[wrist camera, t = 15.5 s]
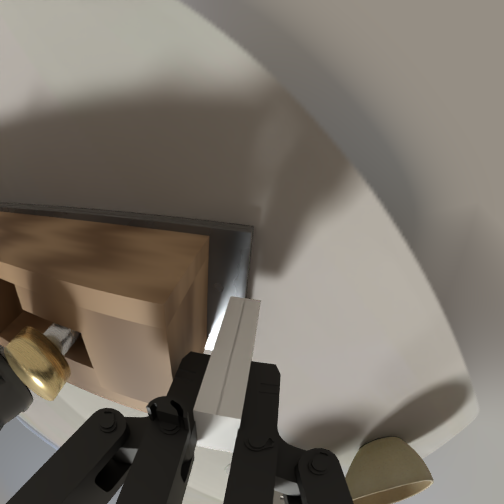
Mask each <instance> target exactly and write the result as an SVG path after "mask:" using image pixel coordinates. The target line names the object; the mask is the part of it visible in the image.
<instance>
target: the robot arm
mask: <svg viewBox="0 0 504 504" xmlns="http://www.w3.org/2000/svg"><path fill="white" fill-rule="evenodd" d="M260 302H261V300H254V299H247V298H240V297H234V296H230V299H229V302H228V305H227V308H226V311H225V314H224V317H223V320H222V323H221V326H220V329H219V332H218V335H217V338H216V341H215V344H214V348H213V351H212V354H211V355H207V354H202V353H197V352H192V351H190V352H189V353H188V354H187V355H186V356H185V357H184V358H182V360H181V363H180V365H179V367H178V370H177V372H176V374H175V378H174V379H173V381H172V384H171V386H170V388H169V391H168V393H167V396H162V397H157V398H155V399H153V400H151V401H150V402H149V403H148V405H147V406H146V409H147V412H148V415H149V416H148V417H124V416H123V415H122V414H121V413H120V412H119V411H117V410H115V409H112V408H104V409H100V410H98V411H96V412H95V413H94V414H93V415H92V416H91V417H90V418H89V419H88V420H87V421H86V422H85V423H84V424H83V425H82V426H81V427H80V428H79V429H78V430H77V431H76V432H75V433H74V434H73V435H72V436H71V437H70V438H69V439H68V440H67V441H66V442H65V443H64V444H63V445H62V446H61V447H60V448H59V449H58V450H57V452H56V453H55V454H54V455H53V456H52V457H51V458H50V459H49V460H48V461H47V462H46V463H45V464H44V465H43V466H42V467H41V468H40V469H39V470H38V471H37V472H36V473H35V474H34V475H33V476H32V477H31V478H30V479H29V480H28V481H27V482H26V483H25V484H24V485H23V487H21V489H20V490H19V491H18V492H17V493H16V494H15V495H14V496H13V497H12V498H11V499H10V500H9V501H8V502H7V503H6V504H107V503H108V502H109V501H110V500H111V498H112V497H113V496H114V495H115V493H116V492H117V491H118V489H119V488H120V487H121V486H122V485H123V487H122V490H121V492H120V494H119V497H118V499H117V502H116V504H182V501H183V497H184V494H185V490H186V486H187V483H188V479H189V476H190V472H191V469H192V465H193V461H194V450H195V447H196V443H197V446H200V447H205V448H209V449H215V450H220V451H225V452H231V453H233V456H232V462H231V467H230V472H229V477H228V482H227V488H226V493H225V498H224V503H223V504H273V497H274V490H275V491H278V492H280V493H283V497H284V502H285V504H354V503H353V500H352V497H351V494H350V491H349V488H348V485H347V483H346V480H345V477H344V474H343V471H342V468H341V465H340V463H339V460H338V459H337V457H336V455H335V454H333V453H332V452H331V451H329V450H326V449H323V448H314V449H311V450H309V451H305V450H302V449H299V448H296V447H293V446H291V445H289V444H287V443H286V442H285V441H284V440H283V439H282V438H281V437H280V435H279V433H278V429H277V422H278V407H279V392H280V373H279V370H278V368H277V366H276V365H275V364H267V363H260V362H253V361H252V355H253V349H254V343H255V336H256V330H257V323H258V316H259V309H260ZM32 402H33V400H32V397H31V395H30V393H29V391H28V389H27V388H26V386H25V385H24V383H23V382H22V381H21V380H20V378H19V377H18V376H17V375H16V374H15V372H14V371H13V370H12V368H11V367H10V365H9V364H8V363H7V362H6V360H5V359H4V358H3V357H2V356H1V355H0V430H1V429H2V428H3V426H4V425H5V424H6V423H7V422H9V421H10V420H12V419H13V418H14V417H16V416H17V415H18V414H19V413H21V412H25V411H26V410H27V409H28V408H29V406H30V405H31V404H32ZM123 483H124V484H123Z"/></svg>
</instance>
